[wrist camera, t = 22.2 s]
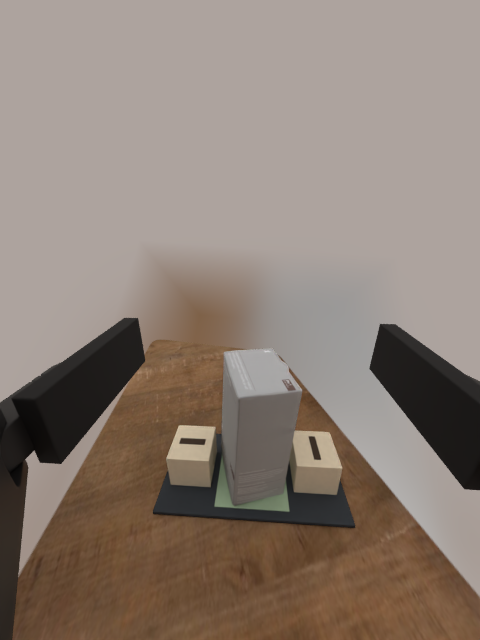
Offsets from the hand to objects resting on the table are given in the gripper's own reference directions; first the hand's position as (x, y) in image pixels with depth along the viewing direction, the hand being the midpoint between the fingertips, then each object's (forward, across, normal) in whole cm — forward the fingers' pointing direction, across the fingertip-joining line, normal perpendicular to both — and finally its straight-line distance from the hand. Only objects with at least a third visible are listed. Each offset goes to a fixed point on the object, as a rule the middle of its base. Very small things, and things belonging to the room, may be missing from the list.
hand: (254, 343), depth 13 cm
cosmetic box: (+10, 0, -24) cm, 25 cm away
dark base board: (+10, 0, -24) cm, 26 cm away
